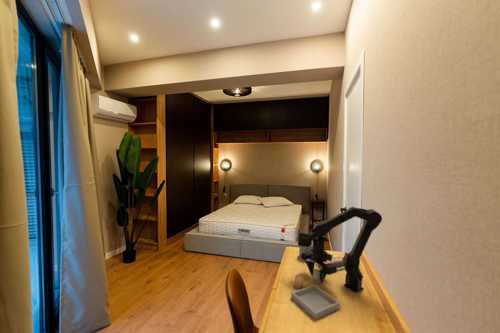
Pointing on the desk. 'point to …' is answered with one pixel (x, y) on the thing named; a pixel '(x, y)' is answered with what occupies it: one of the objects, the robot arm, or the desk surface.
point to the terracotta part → (299, 281)
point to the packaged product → (335, 263)
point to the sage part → (316, 276)
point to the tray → (315, 301)
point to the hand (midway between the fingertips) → (317, 278)
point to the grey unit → (304, 249)
